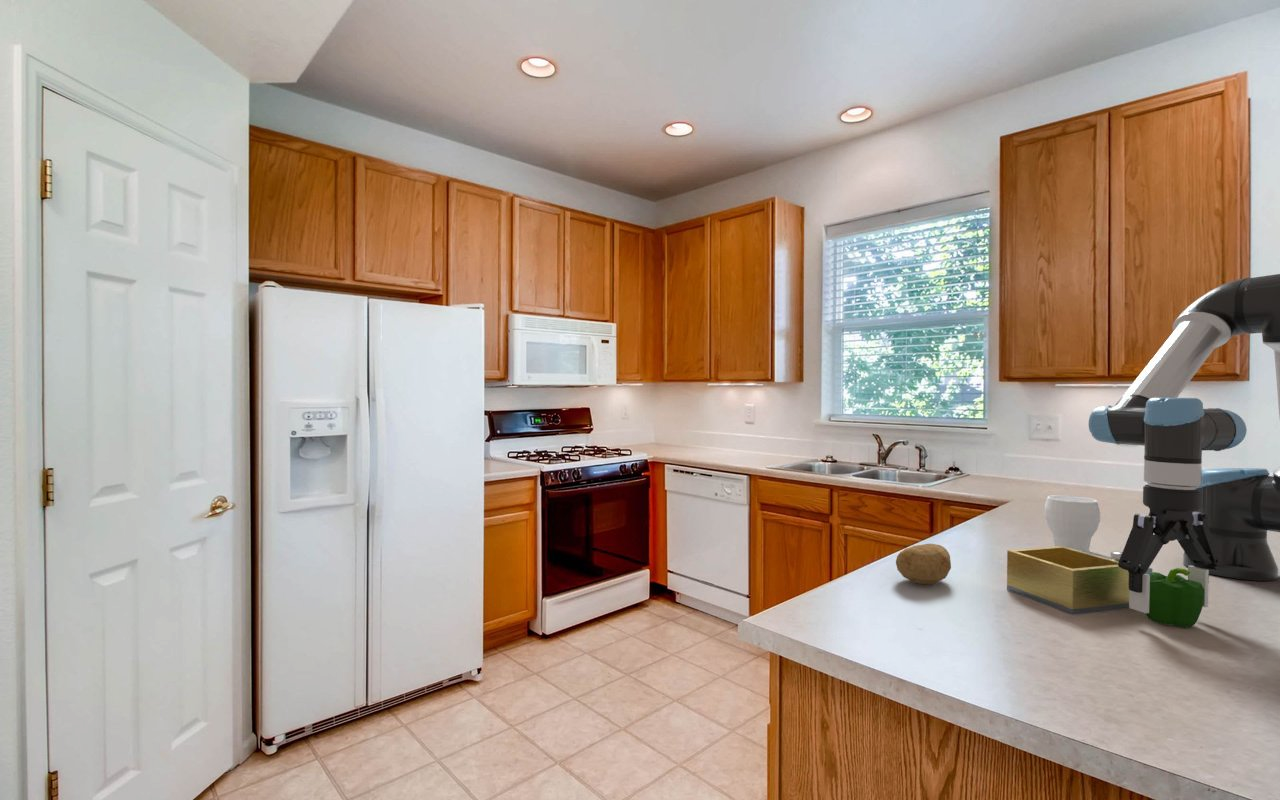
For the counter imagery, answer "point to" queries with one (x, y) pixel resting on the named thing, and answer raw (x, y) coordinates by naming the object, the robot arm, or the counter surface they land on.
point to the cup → (1072, 520)
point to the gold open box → (1069, 578)
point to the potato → (924, 563)
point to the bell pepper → (1175, 599)
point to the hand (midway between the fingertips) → (1168, 607)
